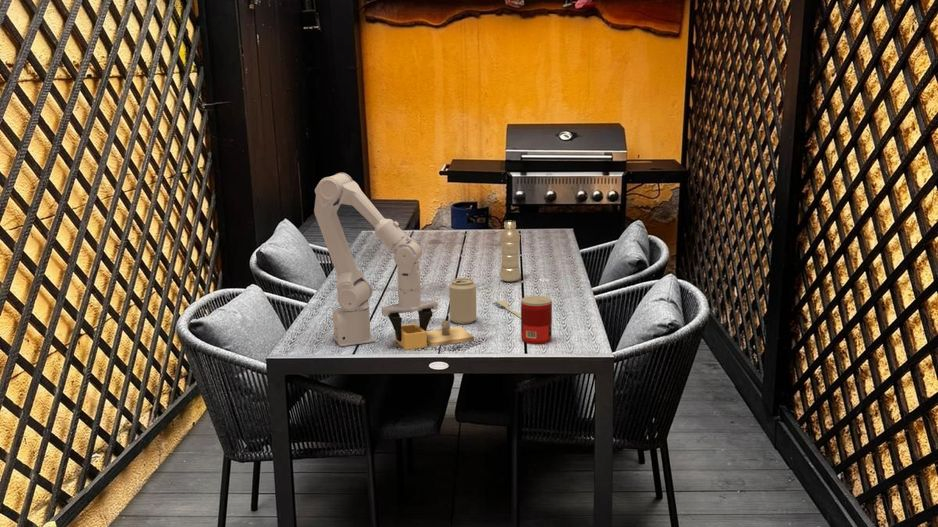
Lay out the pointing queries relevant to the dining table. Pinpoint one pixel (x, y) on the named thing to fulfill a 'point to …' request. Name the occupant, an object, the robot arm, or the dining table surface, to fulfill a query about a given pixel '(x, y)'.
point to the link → (412, 337)
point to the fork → (505, 304)
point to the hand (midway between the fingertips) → (410, 338)
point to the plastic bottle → (510, 252)
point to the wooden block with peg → (448, 335)
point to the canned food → (536, 319)
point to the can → (462, 300)
